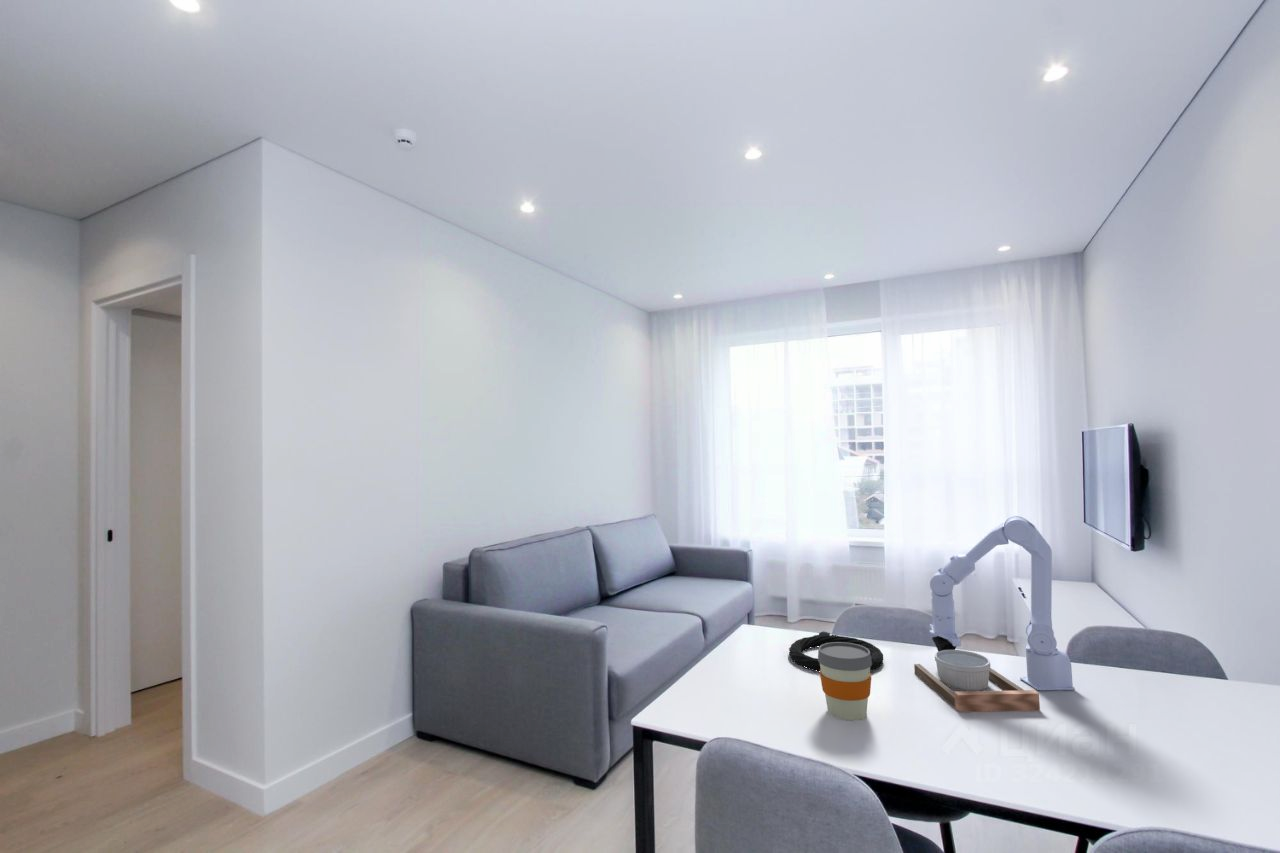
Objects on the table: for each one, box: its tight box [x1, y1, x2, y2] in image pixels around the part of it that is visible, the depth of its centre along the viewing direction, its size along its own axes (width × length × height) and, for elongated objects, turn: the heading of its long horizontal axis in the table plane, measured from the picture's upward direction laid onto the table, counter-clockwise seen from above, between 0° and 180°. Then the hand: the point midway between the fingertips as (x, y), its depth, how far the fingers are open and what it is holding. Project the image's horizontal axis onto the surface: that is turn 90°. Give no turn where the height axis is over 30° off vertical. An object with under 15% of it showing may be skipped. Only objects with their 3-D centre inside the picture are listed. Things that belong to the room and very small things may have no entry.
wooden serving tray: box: [913, 663, 1041, 713], centre depth 153 cm, size 19×25×4 cm
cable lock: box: [788, 630, 884, 672], centre depth 181 cm, size 28×4×30 cm
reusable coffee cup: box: [817, 642, 872, 722], centre depth 144 cm, size 12×12×15 cm
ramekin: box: [934, 649, 991, 692], centre depth 158 cm, size 13×13×7 cm
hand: (946, 663), depth 167 cm, fingers closed
